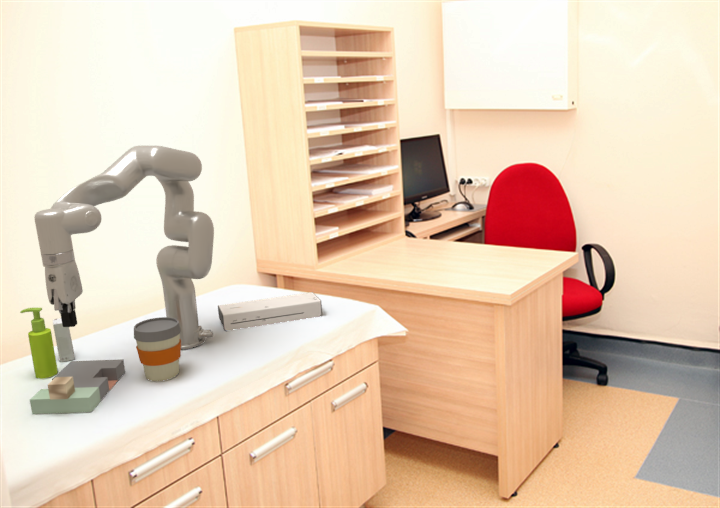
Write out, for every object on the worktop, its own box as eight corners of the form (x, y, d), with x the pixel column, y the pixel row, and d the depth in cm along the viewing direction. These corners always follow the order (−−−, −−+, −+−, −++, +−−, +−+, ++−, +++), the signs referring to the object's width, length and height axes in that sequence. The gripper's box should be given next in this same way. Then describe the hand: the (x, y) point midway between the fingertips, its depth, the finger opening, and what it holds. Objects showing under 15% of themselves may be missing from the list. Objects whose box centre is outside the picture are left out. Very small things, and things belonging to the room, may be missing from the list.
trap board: (125, 372, 188) (123, 359, 187) (91, 412, 164) (89, 397, 163) (73, 374, 188) (71, 361, 187) (32, 414, 165) (29, 399, 164)
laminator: (223, 332, 217) (222, 314, 216) (218, 321, 229) (217, 304, 227) (322, 317, 228) (321, 300, 227) (312, 307, 239) (311, 291, 238)
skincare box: (75, 359, 198) (69, 322, 196) (59, 362, 197) (52, 324, 194) (74, 353, 204) (68, 316, 201) (58, 356, 202) (52, 318, 199)
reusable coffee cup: (194, 368, 188) (189, 319, 185) (165, 387, 177) (158, 334, 173) (160, 363, 193) (154, 315, 190) (129, 380, 182) (122, 329, 179)
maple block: (75, 391, 167) (72, 376, 166) (67, 398, 163) (65, 384, 162) (58, 391, 168) (55, 377, 167) (50, 399, 163) (47, 384, 162)
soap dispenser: (36, 371, 191) (25, 306, 186) (60, 369, 192) (50, 304, 187) (28, 379, 186) (16, 312, 181) (53, 377, 186) (42, 311, 181)
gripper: (59, 265, 158) (72, 336, 163) (85, 249, 173) (95, 315, 178) (29, 266, 159) (42, 337, 163) (56, 251, 173) (68, 316, 178)
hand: (70, 325), depth 170 cm, fingers closed
